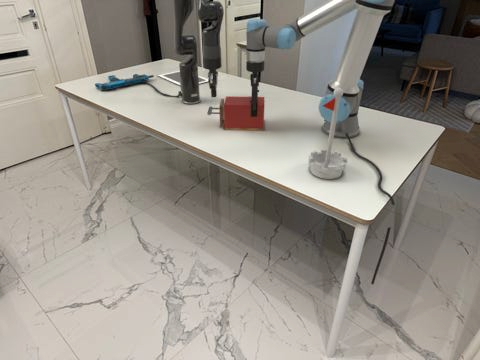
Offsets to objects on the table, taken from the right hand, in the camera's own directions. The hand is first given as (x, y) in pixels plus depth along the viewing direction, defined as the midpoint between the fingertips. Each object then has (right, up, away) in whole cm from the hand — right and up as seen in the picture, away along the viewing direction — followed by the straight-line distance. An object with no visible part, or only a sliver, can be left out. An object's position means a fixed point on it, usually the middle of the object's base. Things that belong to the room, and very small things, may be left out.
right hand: (254, 111), depth 152 cm
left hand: (-18, +6, -3) cm, 19 cm away
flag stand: (+24, -28, -30) cm, 48 cm away
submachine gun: (-78, +29, +57) cm, 101 cm away
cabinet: (-4, -5, +4) cm, 8 cm away
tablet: (-42, +34, +64) cm, 84 cm away
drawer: (-10, -4, +3) cm, 11 cm away
